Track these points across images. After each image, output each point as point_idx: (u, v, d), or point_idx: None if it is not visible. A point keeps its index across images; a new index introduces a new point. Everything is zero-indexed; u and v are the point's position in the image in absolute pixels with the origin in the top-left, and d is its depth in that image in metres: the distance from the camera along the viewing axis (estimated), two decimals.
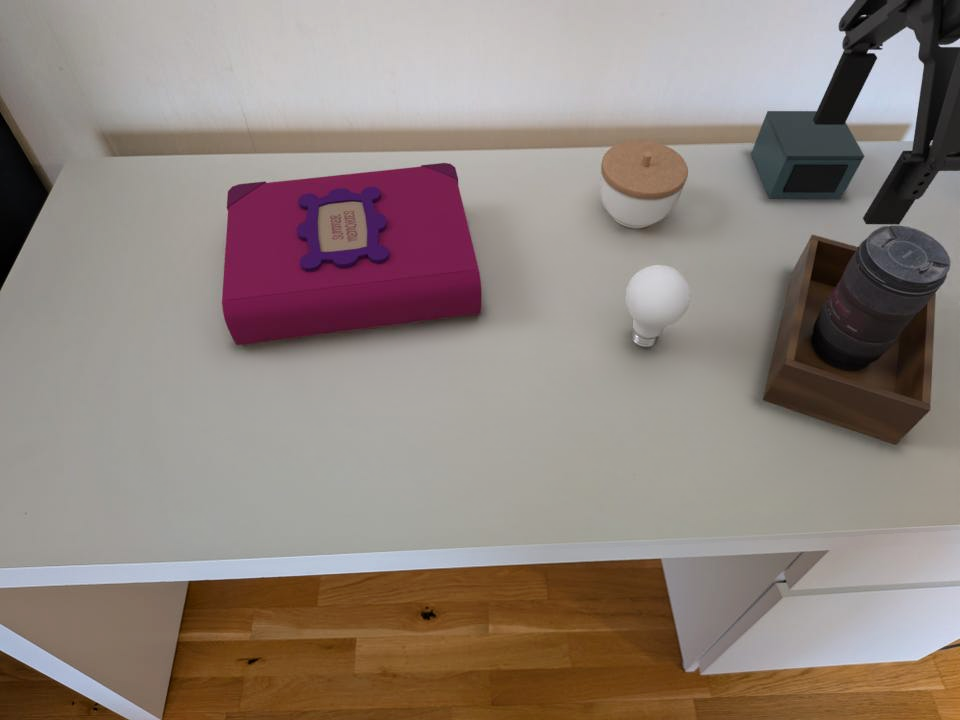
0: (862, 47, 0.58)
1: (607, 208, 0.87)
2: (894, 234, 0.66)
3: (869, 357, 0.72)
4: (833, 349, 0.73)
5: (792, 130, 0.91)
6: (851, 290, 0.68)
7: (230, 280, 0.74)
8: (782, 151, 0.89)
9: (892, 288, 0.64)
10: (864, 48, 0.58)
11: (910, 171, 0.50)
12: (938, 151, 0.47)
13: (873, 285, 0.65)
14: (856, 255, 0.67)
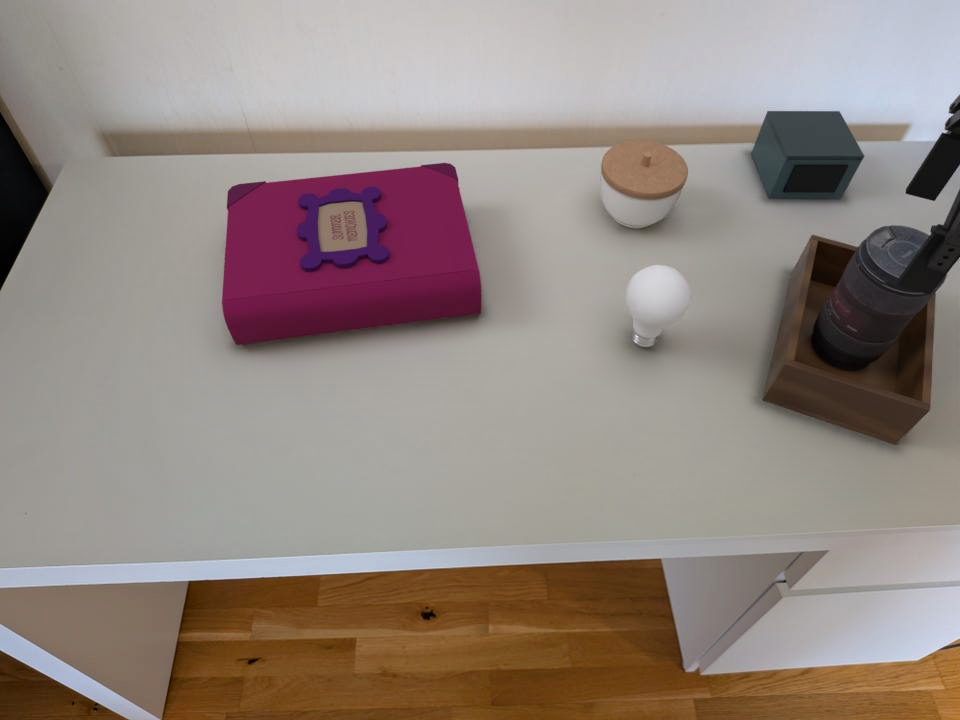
0: None
1: (607, 208, 0.87)
2: (894, 234, 0.66)
3: (869, 357, 0.72)
4: (833, 348, 0.73)
5: (792, 130, 0.91)
6: (851, 290, 0.68)
7: (230, 280, 0.74)
8: (782, 151, 0.89)
9: (892, 287, 0.64)
10: None
11: (939, 244, 0.55)
12: (955, 227, 0.51)
13: (873, 284, 0.65)
14: (856, 255, 0.67)
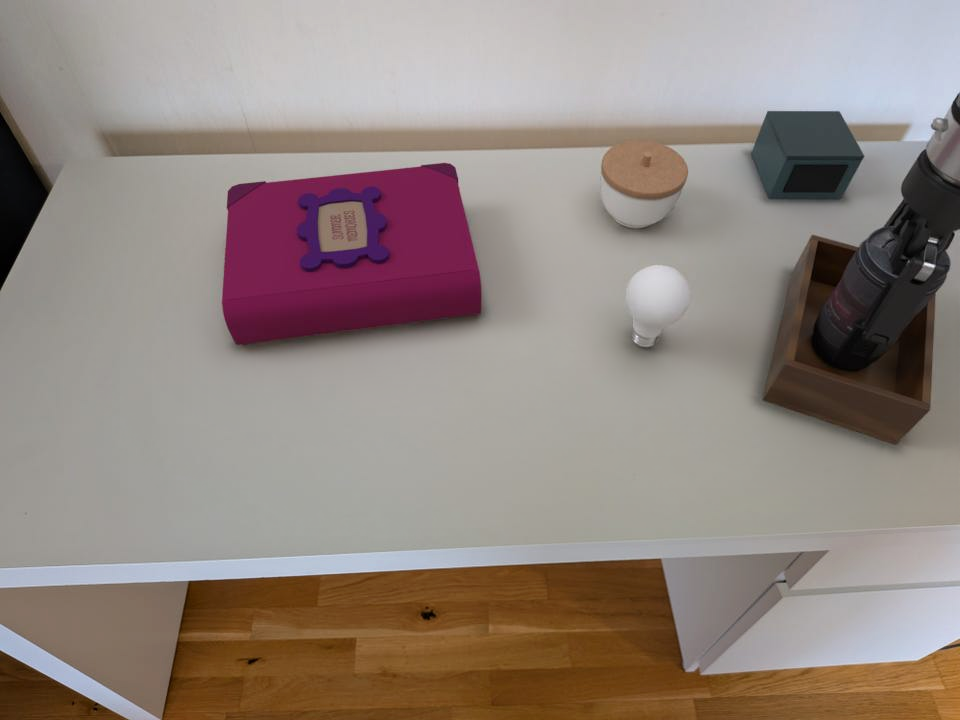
0: None
1: (607, 208, 0.87)
2: (894, 235, 0.66)
3: (869, 357, 0.72)
4: (833, 349, 0.73)
5: (792, 130, 0.91)
6: (851, 291, 0.68)
7: (230, 280, 0.74)
8: (782, 151, 0.89)
9: None
10: None
11: (860, 335, 0.68)
12: (868, 329, 0.64)
13: (872, 285, 0.65)
14: (856, 256, 0.67)
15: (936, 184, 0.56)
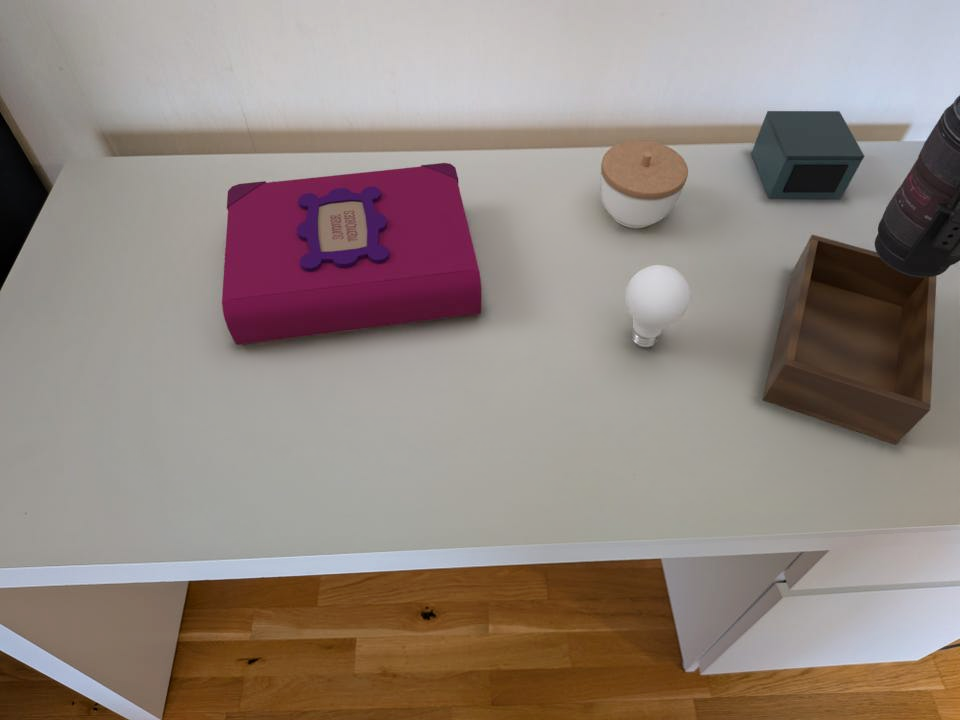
0: None
1: (607, 208, 0.87)
2: None
3: (950, 256, 0.60)
4: (905, 249, 0.61)
5: (792, 130, 0.91)
6: (932, 169, 0.56)
7: (230, 280, 0.74)
8: (782, 151, 0.89)
9: None
10: None
11: (944, 223, 0.56)
12: (959, 208, 0.53)
13: None
14: (939, 124, 0.55)
15: None
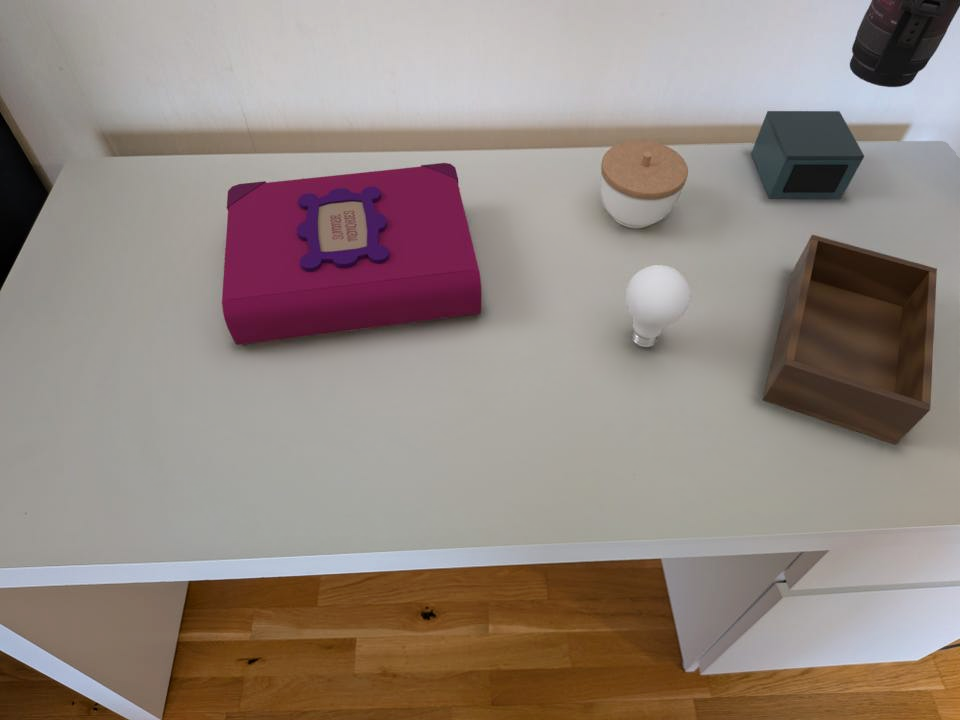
0: None
1: (607, 208, 0.87)
2: None
3: (913, 61, 0.69)
4: (875, 57, 0.70)
5: (792, 130, 0.91)
6: None
7: (230, 280, 0.74)
8: (782, 151, 0.89)
9: None
10: None
11: (907, 21, 0.66)
12: None
13: None
14: None
15: None
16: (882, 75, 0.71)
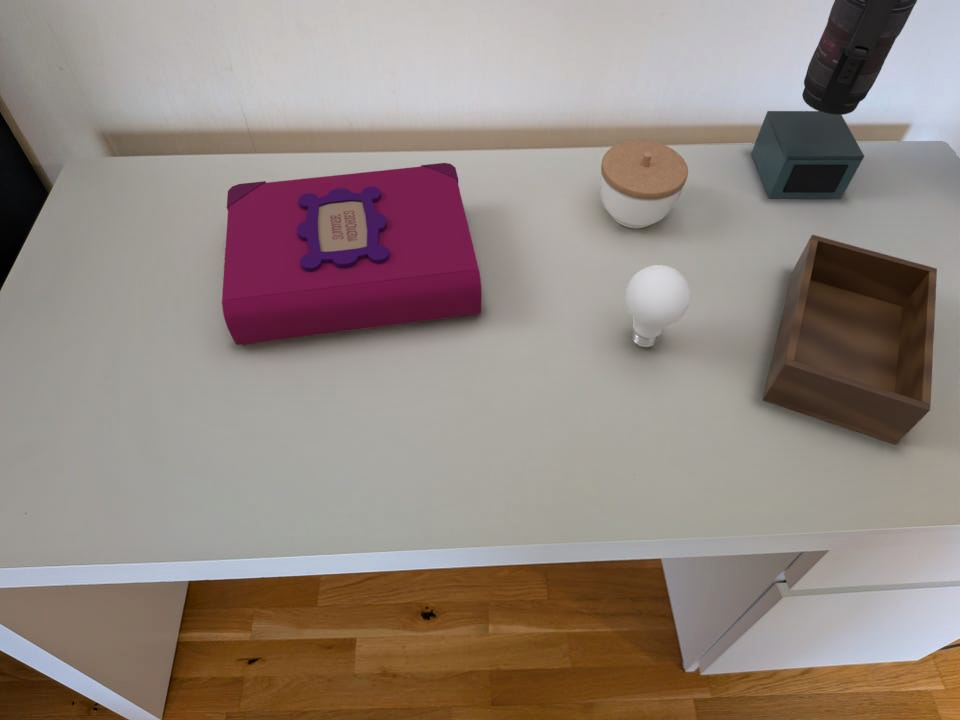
0: None
1: (607, 208, 0.87)
2: None
3: (853, 94, 0.82)
4: (821, 90, 0.83)
5: (792, 130, 0.91)
6: (836, 21, 0.77)
7: (230, 280, 0.74)
8: (782, 151, 0.89)
9: None
10: None
11: (845, 62, 0.78)
12: None
13: (854, 7, 0.75)
14: None
15: None
16: (828, 104, 0.84)
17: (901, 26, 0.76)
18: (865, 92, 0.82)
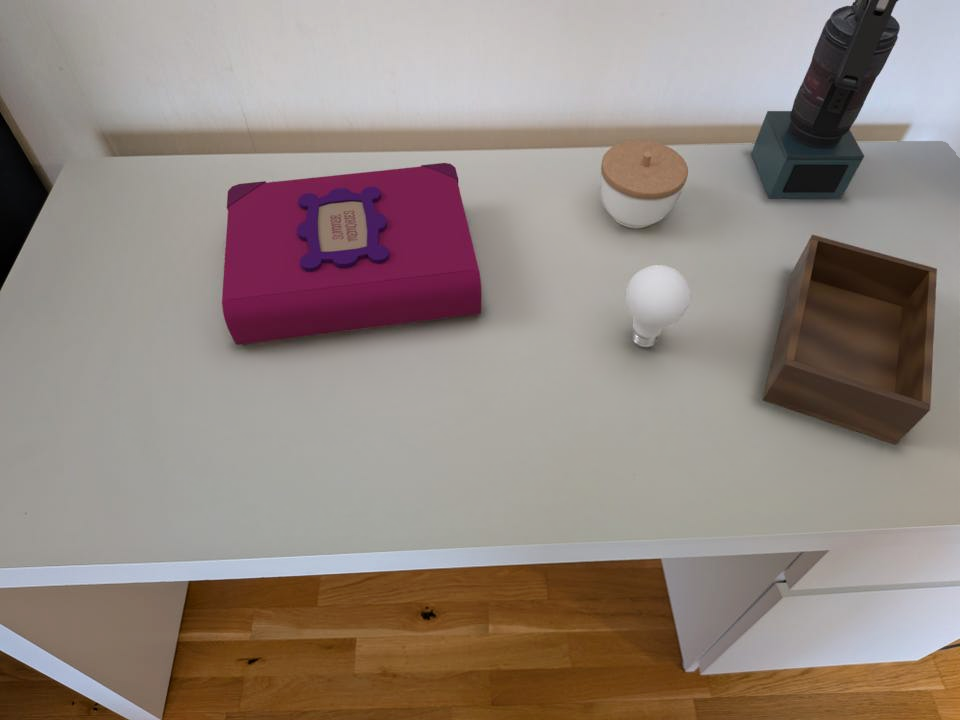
0: None
1: (607, 208, 0.87)
2: (854, 11, 0.80)
3: None
4: (806, 124, 0.86)
5: None
6: (819, 61, 0.81)
7: (230, 280, 0.74)
8: (782, 151, 0.89)
9: None
10: None
11: (834, 91, 0.78)
12: (840, 73, 0.75)
13: (836, 49, 0.79)
14: (823, 29, 0.80)
15: None
16: (813, 138, 0.88)
17: (881, 66, 0.79)
18: (848, 126, 0.86)
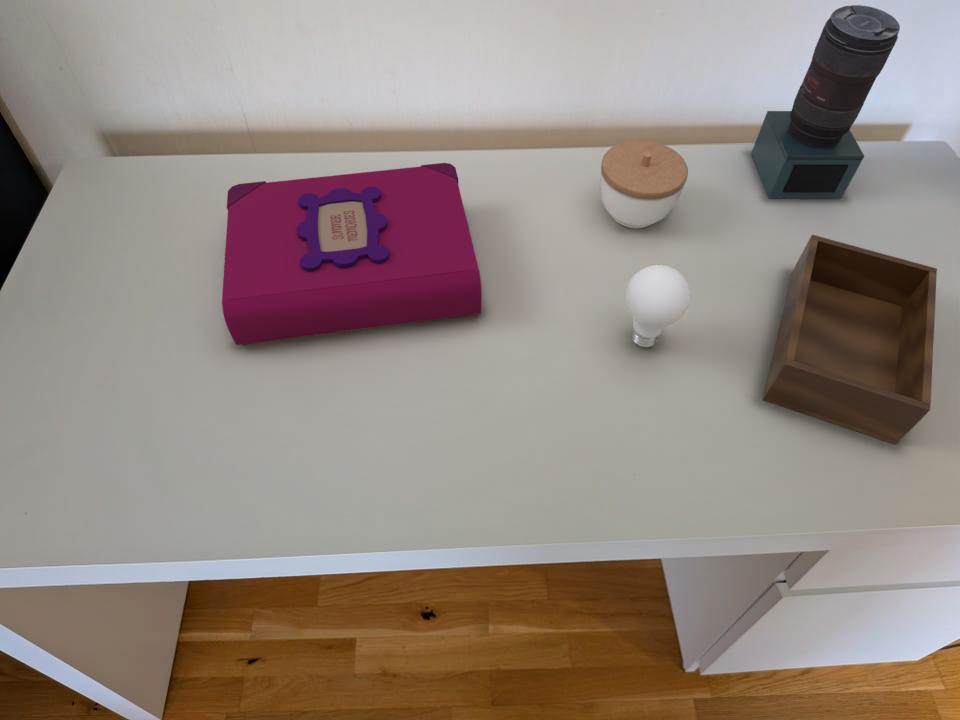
0: None
1: (607, 208, 0.87)
2: (854, 12, 0.80)
3: (836, 128, 0.85)
4: (806, 124, 0.86)
5: None
6: (819, 61, 0.81)
7: (230, 280, 0.74)
8: (782, 151, 0.89)
9: (851, 48, 0.78)
10: None
11: None
12: None
13: (836, 49, 0.79)
14: (823, 29, 0.80)
15: None
16: (813, 138, 0.88)
17: (881, 66, 0.80)
18: (848, 126, 0.86)
